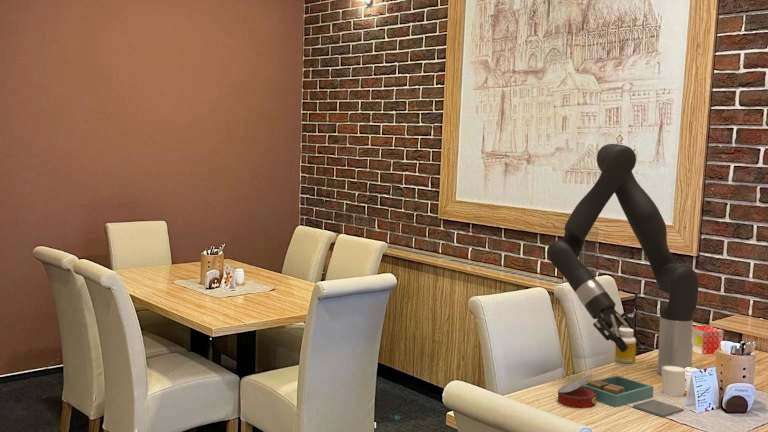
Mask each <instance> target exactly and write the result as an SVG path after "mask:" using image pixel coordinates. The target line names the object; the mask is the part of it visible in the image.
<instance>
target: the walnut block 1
mask: <svg viewBox="0 0 768 432" xmlns="http://www.w3.org/2000/svg"><path fill="white" fill-rule="evenodd" d="M599 380H600V379H595V380H590V381H586V383H587V386H590V387H593V388H596V389H600V390H603V387H605V386H607V385H609V383H605V382H602V381H599Z"/></svg>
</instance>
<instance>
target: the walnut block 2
mask: <svg viewBox="0 0 768 432" xmlns="http://www.w3.org/2000/svg"><path fill="white" fill-rule="evenodd" d="M603 391H606V392H609V393H612V394H615V395H617V394H620V393H624V392H625V389H624V387H621V386H617V385H613V384H609V385H607V386H605V387H603Z"/></svg>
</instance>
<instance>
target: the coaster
mask: <svg viewBox="0 0 768 432" xmlns="http://www.w3.org/2000/svg"><path fill="white" fill-rule="evenodd" d="M631 407H632V409H636V410H638V411H641V412H645V413H648V414H651V415H654V416H656V417H660V418H666V416H667V417H669V415H670V416H673V415H675V414H674V413H676V414H679V413H682V411H683V412H684V411H685V410H684V409H685V408H682V407H679V406H676V405H673V404H669V403H666V402H663V401H661V400H656V399H650V400H646V401H643V402H640V403H636V404H633V405H632V406H631ZM678 412H679V413H678ZM672 414H673V415H672Z"/></svg>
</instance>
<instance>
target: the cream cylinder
mask: <svg viewBox="0 0 768 432" xmlns="http://www.w3.org/2000/svg"><path fill="white" fill-rule="evenodd" d="M661 370H662V375H661V387H662V388H661V389H662V390H661V391H662V394H665V395H666V396H670V395H671V396H672V397H683V396H684V395H685V391H686V385H685V368H683V367H678V366H662V367H661ZM682 395H683V396H682ZM671 396H670V397H671Z"/></svg>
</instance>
